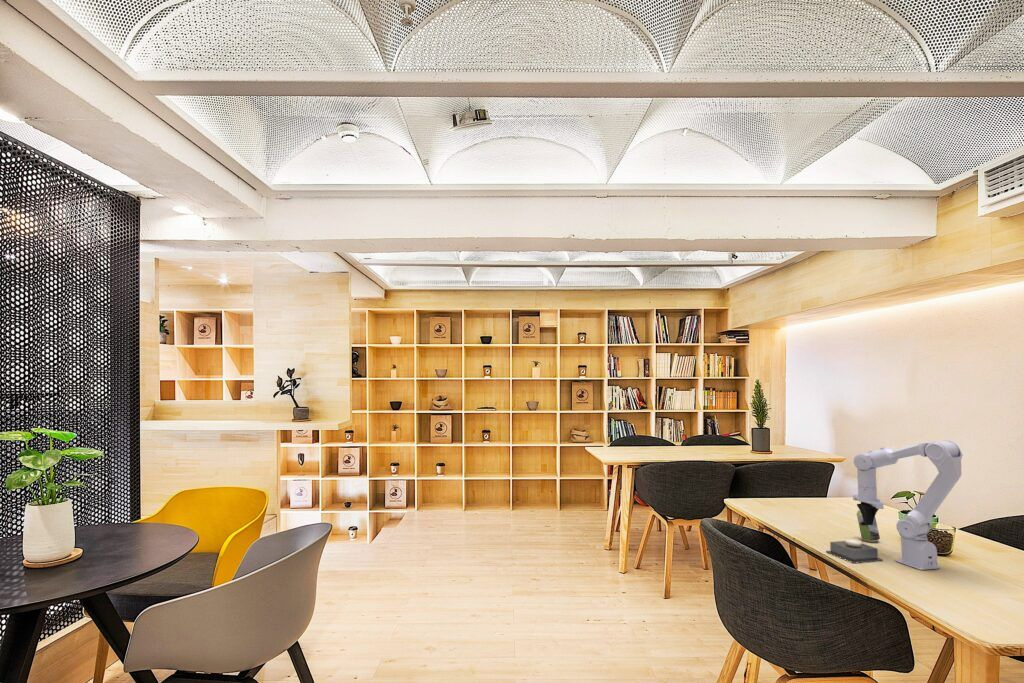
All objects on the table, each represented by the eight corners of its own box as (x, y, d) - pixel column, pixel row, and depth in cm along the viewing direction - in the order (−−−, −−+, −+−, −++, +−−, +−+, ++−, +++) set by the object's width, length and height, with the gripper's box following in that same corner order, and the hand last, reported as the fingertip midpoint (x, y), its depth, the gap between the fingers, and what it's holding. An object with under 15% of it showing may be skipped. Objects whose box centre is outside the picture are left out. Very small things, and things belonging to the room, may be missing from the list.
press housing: (882, 561, 187) (882, 549, 188) (853, 563, 185) (853, 551, 185) (853, 550, 199) (853, 539, 199) (826, 552, 196) (825, 541, 197)
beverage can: (879, 544, 207) (878, 512, 207) (856, 540, 211) (855, 509, 212) (880, 540, 212) (879, 509, 212) (858, 537, 216) (857, 506, 217)
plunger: (865, 556, 190) (864, 542, 190) (853, 557, 189) (853, 542, 189) (853, 552, 195) (853, 537, 195) (842, 553, 194) (841, 538, 194)
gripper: (891, 490, 191) (893, 530, 190) (865, 483, 206) (867, 519, 205) (871, 490, 192) (872, 529, 191) (846, 482, 206) (848, 519, 205)
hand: (868, 524), depth 198 cm, fingers closed
